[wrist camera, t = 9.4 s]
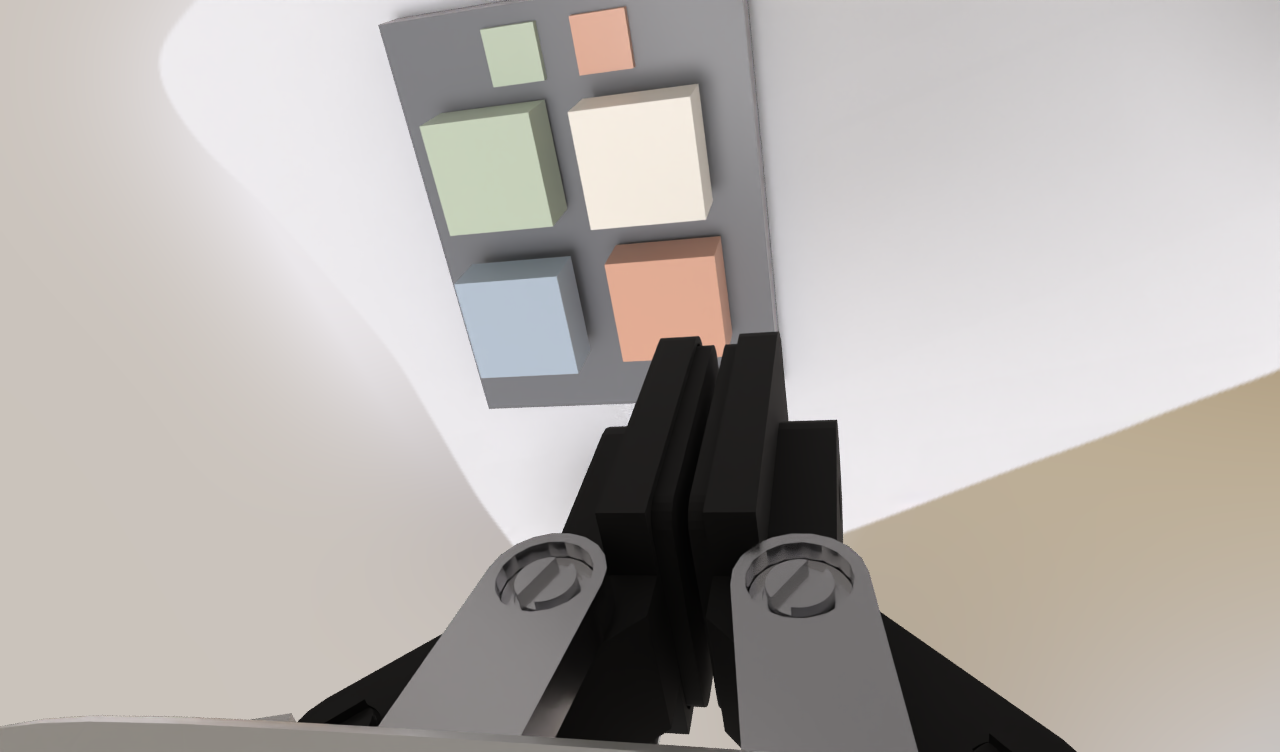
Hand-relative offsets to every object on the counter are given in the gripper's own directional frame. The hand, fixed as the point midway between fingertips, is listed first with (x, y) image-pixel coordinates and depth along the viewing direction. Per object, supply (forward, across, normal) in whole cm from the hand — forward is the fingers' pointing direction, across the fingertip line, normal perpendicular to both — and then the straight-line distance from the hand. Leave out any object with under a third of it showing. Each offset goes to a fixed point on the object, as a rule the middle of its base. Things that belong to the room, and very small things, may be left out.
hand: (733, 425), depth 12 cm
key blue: (+26, +13, +9) cm, 31 cm away
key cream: (+26, +6, +2) cm, 27 cm away
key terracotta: (+27, +7, +9) cm, 29 cm away
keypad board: (+29, +10, +6) cm, 31 cm away
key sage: (+27, +13, +2) cm, 30 cm away
